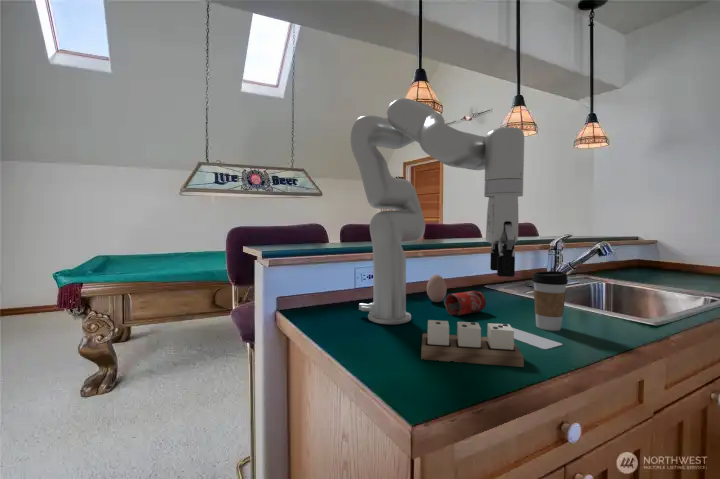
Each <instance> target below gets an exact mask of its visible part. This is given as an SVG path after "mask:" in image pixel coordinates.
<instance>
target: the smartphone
mask: <svg viewBox="0 0 720 479" xmlns="http://www.w3.org/2000/svg"><path fill="white" fill-rule="evenodd" d="M512 329H513V330H514V341H517V342H518V341H519V342H520V343H524V344H526V345H528V346H533V347H535V348H537V349H540V350H544V351H548V350H551V349H556V348H560V347H563V346H564V344H563V343H562V342H558V341H555V340H552V339H550V338H546V337H542V336H539V335H536V334H533V333H530V332H527V331H524V330H521V329H518V328H515V327H512Z"/></svg>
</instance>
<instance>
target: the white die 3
mask: <svg viewBox="0 0 720 479" xmlns="http://www.w3.org/2000/svg"><path fill="white" fill-rule="evenodd" d="M512 328H513V327H512V326H511V325H510V323H492V322H491V323H489V322H487V336H486V337H487V341H488V343H489V346H490V348H495V349H510V350H513V349H514V343H515V339H514V330H513V329H512Z"/></svg>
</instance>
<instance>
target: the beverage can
mask: <svg viewBox="0 0 720 479" xmlns="http://www.w3.org/2000/svg"><path fill="white" fill-rule="evenodd" d="M443 300H444V302H443V305H444V306H445V310H446V312H447V313H448V314H449V315H450V316H453V315H455V316H456V317H457V316H462V315H469V314H475V313H480V312H481V311H483V310H484V309H485V308H486V306H487V300H486V297H485V295H484V294H483V293H482V292H481V291H476V290H470V291H464V292H463V291H462V292H456V293H448V294H446V296H445V297H444V299H443Z"/></svg>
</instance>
